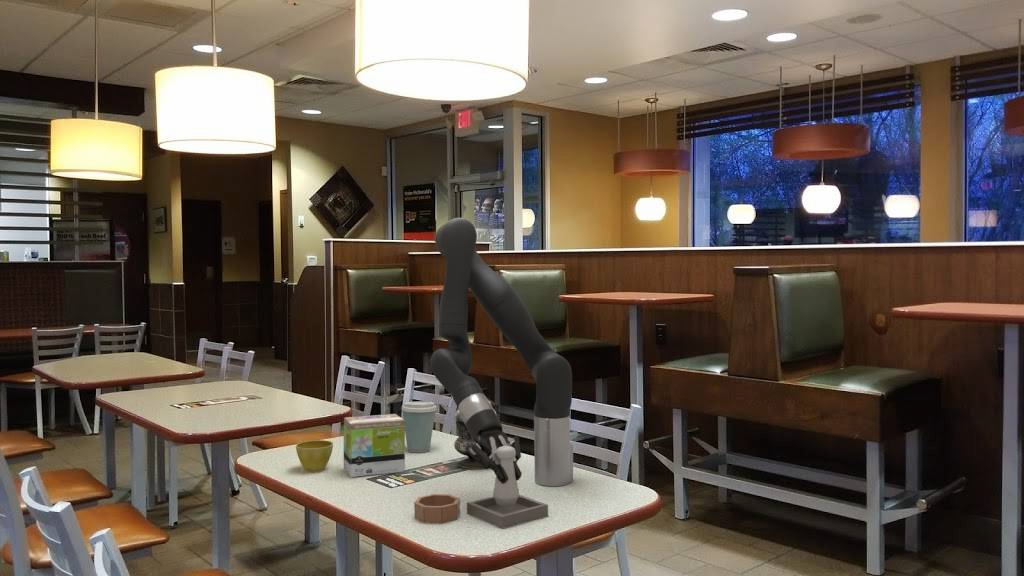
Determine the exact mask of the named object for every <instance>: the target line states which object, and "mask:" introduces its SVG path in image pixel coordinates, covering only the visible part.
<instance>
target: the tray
mask: <svg viewBox="0 0 1024 576" xmlns="http://www.w3.org/2000/svg"><path fill="white" fill-rule="evenodd" d="M466 514H467V515H469V516H470V517H474V518H477V519H479V520H481V521H484V522H486V523H488V524H491V525H493V526H495V527H498V528H500V529H506V528H509V527H512V526H516V525H520V524H524V523H528V522H531V521H534V520H538V519H541V518H542V519H543V518H545V517H548V516H549V504H547V503H544V502H541V501H538V500H535V499H533V498H530V497H528V496H524V495H521V494H519V497H518V499H517V501H516V504H515V506H511V507H500V506H499V505H497V503H496V501H495V498H494V496H489V497H486V498H482V499H477V500H473V501H468V502H466Z"/></svg>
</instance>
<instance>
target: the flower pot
mask: <svg viewBox="0 0 1024 576" xmlns="http://www.w3.org/2000/svg"><path fill="white" fill-rule="evenodd" d="M333 448H334V442H332V441H330V440H325V439H322V440H321V439H316V440H315V439H314V440H313V439H312V440H305V441H302V442H298V443H296V444H295V450H296V454H297V458H298V459H299V462H300V465H301V467H302V468H303V469H304V471H305V472H309V473H318V472H322V471H324V470H325V469H326V467H327V465H328V463H329V462H330V459H331V455H332V453H333Z"/></svg>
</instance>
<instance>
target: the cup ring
mask: <svg viewBox="0 0 1024 576" xmlns="http://www.w3.org/2000/svg"><path fill="white" fill-rule="evenodd" d="M413 503H414V508H413V509H414V519H416V520H417V521H419V522H421V523H424V524H425V523H426V524H444V523H447V522H452V521H456V520H458V518H459V517H460V515H461V499H460V497H457V496H455V495H452V494H442V493H441V494H440V493H437V494H435V493H433V494H432V493H431V494H428V495H422V496H419V497H417V499H416V500H415V501H414V502H413Z"/></svg>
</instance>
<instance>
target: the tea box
mask: <svg viewBox="0 0 1024 576" xmlns="http://www.w3.org/2000/svg"><path fill="white" fill-rule="evenodd" d="M405 445H406V435H405V420H404V419H403V417H401V416H399V415H398V414H397V413H390V414H389V413H388V414H377V415H376V414H374V415H362V416H346V417H343V470H344V471H345V472H346V473H347V474H348V476H349V477H350V478H356V477H363V476H373V475H383V474H386V475H387V474H394V473H395V474H397V473H404V472H405V470H406V469H405V468H406V467H405V466H406V463H405V461H406V460H405V459H406V448H405V447H406V446H405Z"/></svg>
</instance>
